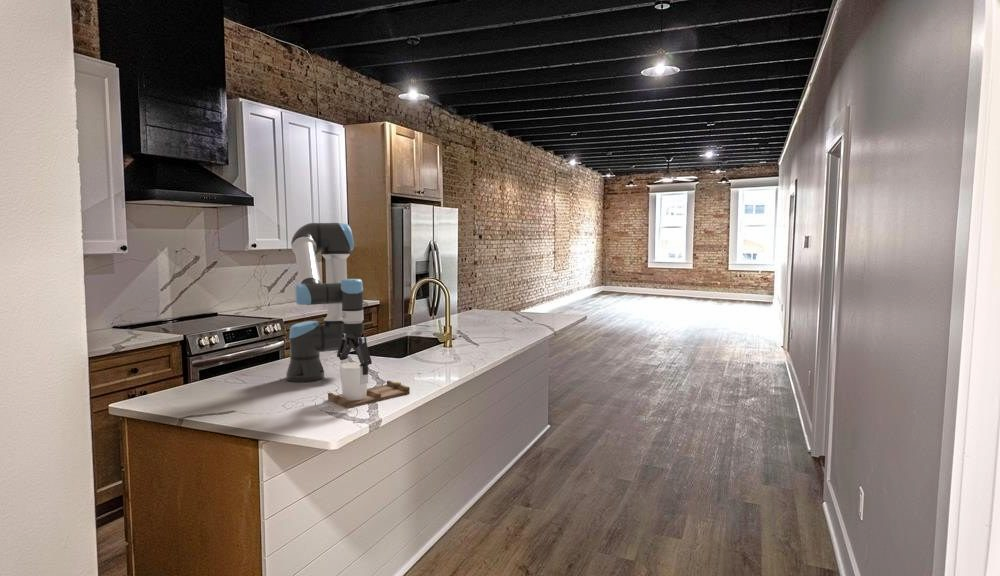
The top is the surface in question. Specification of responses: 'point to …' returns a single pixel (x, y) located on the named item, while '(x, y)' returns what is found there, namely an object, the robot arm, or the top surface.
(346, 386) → the candle holder
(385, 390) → the brown wooden flat tray
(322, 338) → the robot arm
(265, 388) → the top surface
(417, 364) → the top surface
